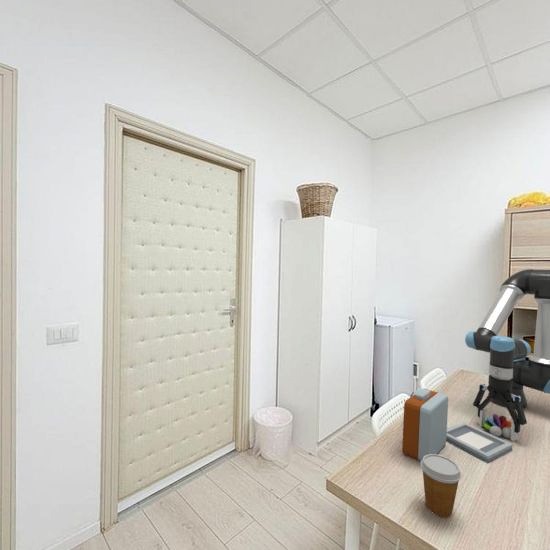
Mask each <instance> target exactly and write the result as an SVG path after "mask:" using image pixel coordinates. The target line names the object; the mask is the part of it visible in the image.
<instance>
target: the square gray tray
mask: <svg viewBox="0 0 550 550" xmlns="http://www.w3.org/2000/svg"><path fill="white" fill-rule="evenodd" d="M447 442H448V443H449V444H451V445H453V446H455V447H456V448H459V449H461V450H462V451H464V452H465V453H468V454H470V455H472V456H474V457H475V458H477V459H480V460H481V461H483V462H485V463H487V464H489V463H490V462H492V461H494V460H496V459H498V458H500V457H502V456H504V455H506V454H508V453H509V452H512V451H513V443H511V442H509V441H507V440H505V439H502V438H500V437H496V436H493V435H491V433H490V432H487V431H484V430H482V429H480V428H478V427H475V426H473V425H471V424H469V423H467V422H464V421H463V422H460V423H459V424H456V425H453V426H449V427H447V436H446V443H447Z"/></svg>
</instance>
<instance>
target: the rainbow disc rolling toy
mask: <svg viewBox="0 0 550 550" xmlns="http://www.w3.org/2000/svg"><path fill="white" fill-rule="evenodd" d="M512 423H513V422H512V421H510V420H507V417H506V416H505V415H500V416H499V415H497V414H496V413H495V414H493V415H492V419H491V418H490V416H487V417H486V418H485V420H484V421H483V428H485V429H486V430H488V431H489V434H491V435H493V436H496V437H498V438H500V436H503V438H506V439H511V426H512Z"/></svg>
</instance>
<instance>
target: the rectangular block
mask: <svg viewBox="0 0 550 550" xmlns="http://www.w3.org/2000/svg"><path fill="white" fill-rule="evenodd" d="M448 412H449V396H448V395H447V394H444V393H441V392H437V391H434V390H430V389H427V388H421V387H420V388H418V389H416V391H415V394H413V395H412V396H410V397H409V398H407V399H406V400H405V401H404V404H403V419H402V420H403V421H402V424H403V425H402V441H401V442H402V447H401V448H402V449H401V450H402V453H403V454H404V455H407V456H409V457H411V458H413V459H416V460H418V461H420V462H421V461H422V459H423V457H424V456H425V455H428V454H437V455H439V453H440V452H441V451H442V449H443V448H444V447H445V446H446V444H447V441H446V436H447V428H448Z"/></svg>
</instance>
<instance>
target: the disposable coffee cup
mask: <svg viewBox="0 0 550 550" xmlns="http://www.w3.org/2000/svg"><path fill="white" fill-rule="evenodd" d="M420 467H421V469H422V476H423V477H422V480H423V490H424V491H423V492H424V502H425V507H426V508H427V510H428V509H429V510H430V511H429V512H430V513H432V512H433V513H434V515H435V514H436V515H435V516H437V515H438V516H437V517H440V516H441V517H440V518H450V517H451V516H452V515H453V510H454V505H455V500H456V497H457V491H458V488H459V487H458V485H459V481H460V480H461V478H462V472H461V471H460V466H459V465H458V464H457V463H456V462H455V461H453V460H452V459H451V458H449V457H446V456H445V455H441V454H428V455H425V456H424V457H423V459H422V461H420ZM433 513H432V514H433Z"/></svg>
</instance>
